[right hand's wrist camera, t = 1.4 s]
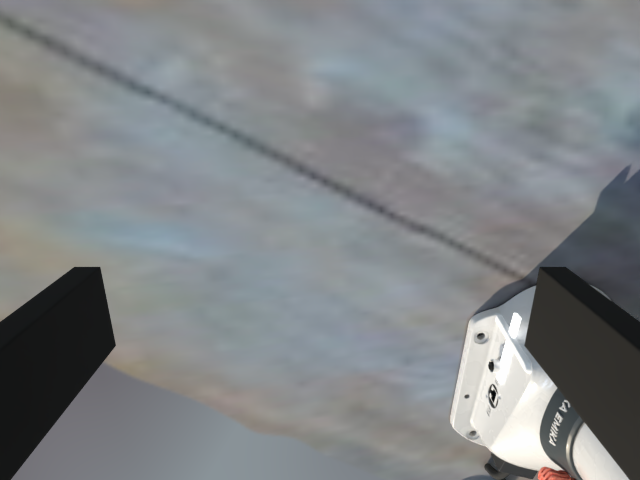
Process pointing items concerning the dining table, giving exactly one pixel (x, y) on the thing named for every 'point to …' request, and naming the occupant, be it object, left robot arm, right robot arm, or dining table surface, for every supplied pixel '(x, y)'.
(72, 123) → the dining table surface
